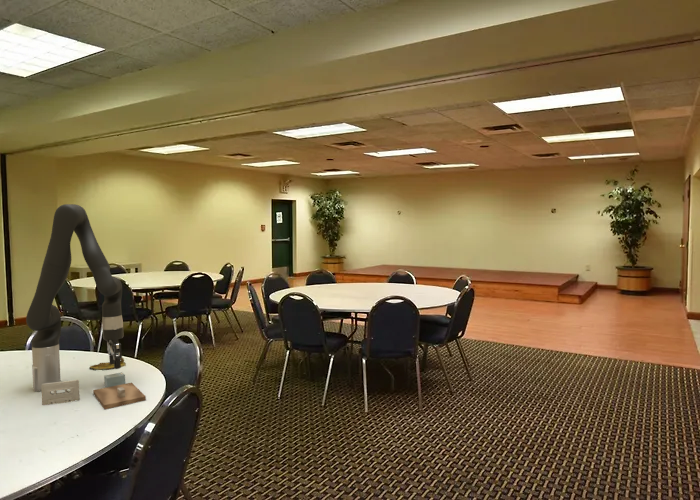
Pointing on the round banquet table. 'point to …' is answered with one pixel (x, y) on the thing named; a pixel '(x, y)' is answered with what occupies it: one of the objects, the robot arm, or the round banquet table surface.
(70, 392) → the cassette
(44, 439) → the round banquet table surface
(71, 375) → the round banquet table surface
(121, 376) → the grey-green box
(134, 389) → the board
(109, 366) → the gold looped flat piece
